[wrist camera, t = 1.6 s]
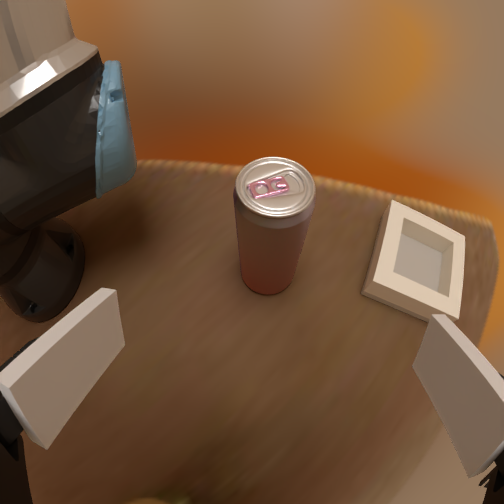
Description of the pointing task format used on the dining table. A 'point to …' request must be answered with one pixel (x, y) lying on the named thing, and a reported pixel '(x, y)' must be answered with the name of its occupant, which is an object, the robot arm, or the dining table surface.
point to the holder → (416, 265)
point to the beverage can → (272, 220)
